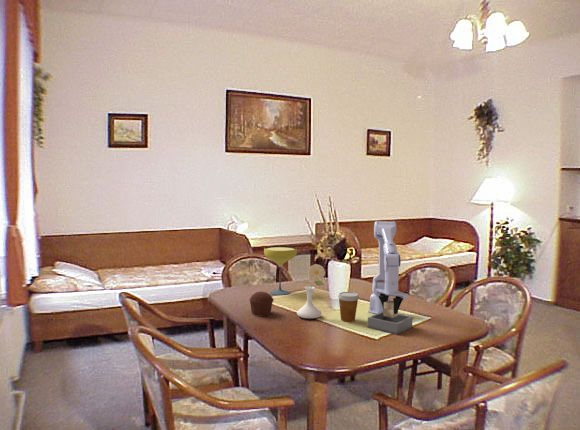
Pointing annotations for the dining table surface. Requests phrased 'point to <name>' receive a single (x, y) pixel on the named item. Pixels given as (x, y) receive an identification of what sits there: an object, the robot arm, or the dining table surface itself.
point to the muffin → (261, 303)
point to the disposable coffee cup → (348, 305)
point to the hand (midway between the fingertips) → (390, 312)
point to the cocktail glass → (280, 260)
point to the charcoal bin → (390, 323)
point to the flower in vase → (309, 309)
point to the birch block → (389, 309)
